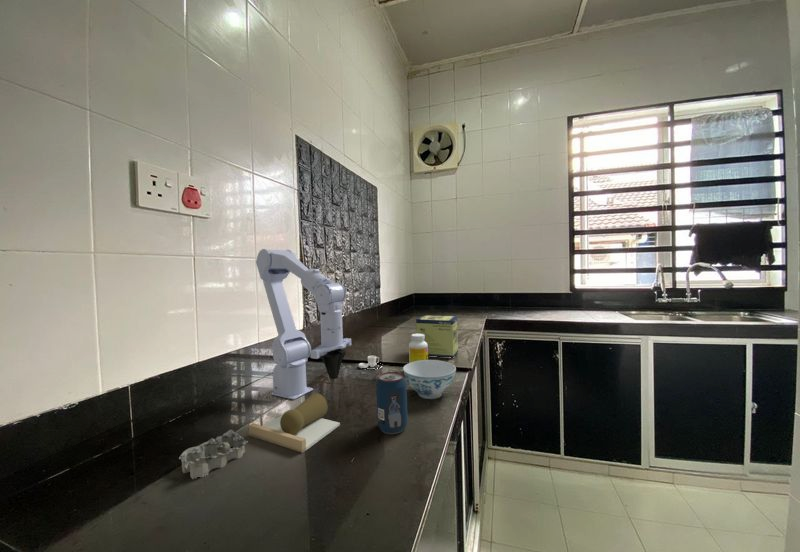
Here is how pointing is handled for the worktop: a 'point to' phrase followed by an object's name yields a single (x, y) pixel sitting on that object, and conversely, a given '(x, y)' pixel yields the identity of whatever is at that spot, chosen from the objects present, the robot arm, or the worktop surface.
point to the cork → (304, 414)
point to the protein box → (439, 334)
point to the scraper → (297, 441)
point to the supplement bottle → (418, 348)
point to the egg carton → (219, 447)
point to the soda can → (391, 402)
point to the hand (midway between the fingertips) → (333, 377)
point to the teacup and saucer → (369, 362)
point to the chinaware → (429, 377)
